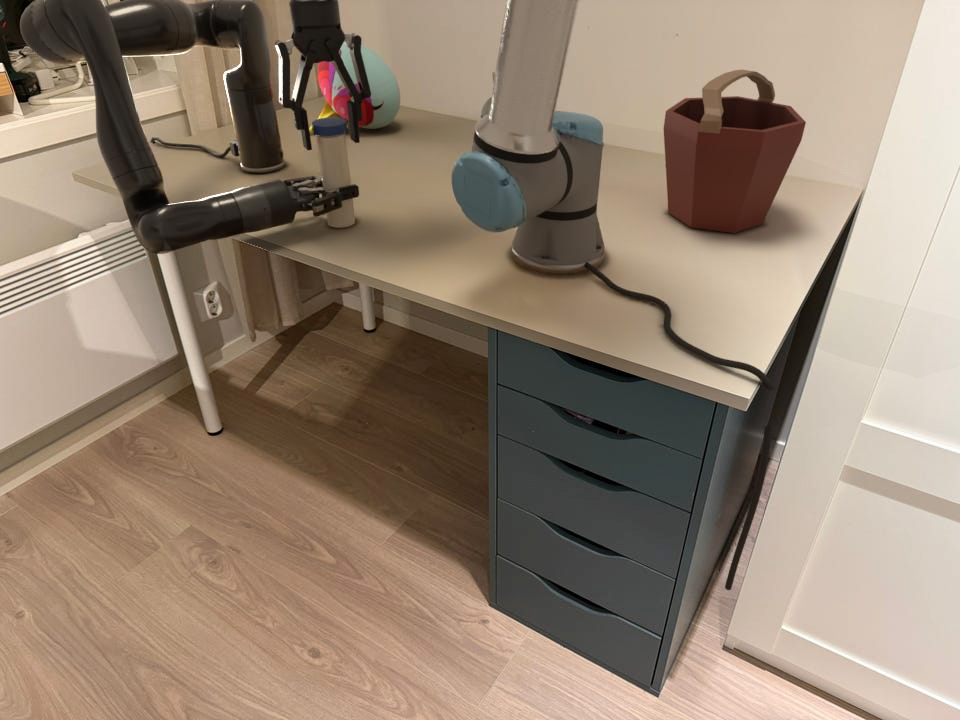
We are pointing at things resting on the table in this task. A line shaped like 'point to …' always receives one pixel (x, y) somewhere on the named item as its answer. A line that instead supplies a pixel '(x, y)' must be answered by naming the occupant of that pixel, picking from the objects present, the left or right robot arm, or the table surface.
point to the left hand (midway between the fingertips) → (350, 185)
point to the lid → (329, 126)
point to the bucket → (728, 154)
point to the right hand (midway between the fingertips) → (331, 144)
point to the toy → (374, 108)
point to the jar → (336, 176)
